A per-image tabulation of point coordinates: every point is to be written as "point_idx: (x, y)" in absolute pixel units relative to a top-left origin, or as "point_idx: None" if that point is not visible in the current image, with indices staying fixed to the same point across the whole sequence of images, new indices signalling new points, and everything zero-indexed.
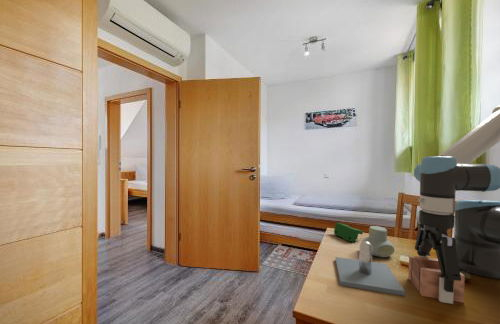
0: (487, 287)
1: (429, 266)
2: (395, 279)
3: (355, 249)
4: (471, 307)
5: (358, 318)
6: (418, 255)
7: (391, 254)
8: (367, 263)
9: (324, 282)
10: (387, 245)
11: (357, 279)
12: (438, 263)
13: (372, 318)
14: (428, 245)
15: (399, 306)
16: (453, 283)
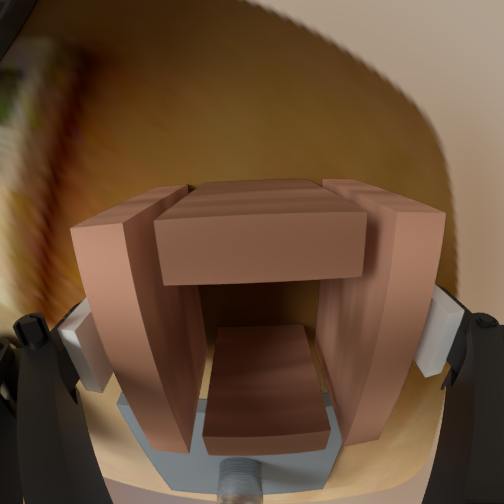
0: None
1: (172, 335)
2: None
3: None
4: (384, 165)
5: (431, 443)
6: (86, 389)
7: (12, 347)
8: (262, 498)
9: (315, 492)
10: (5, 394)
11: (304, 475)
12: (150, 298)
13: (434, 430)
14: (91, 490)
15: (404, 401)
16: (469, 311)
